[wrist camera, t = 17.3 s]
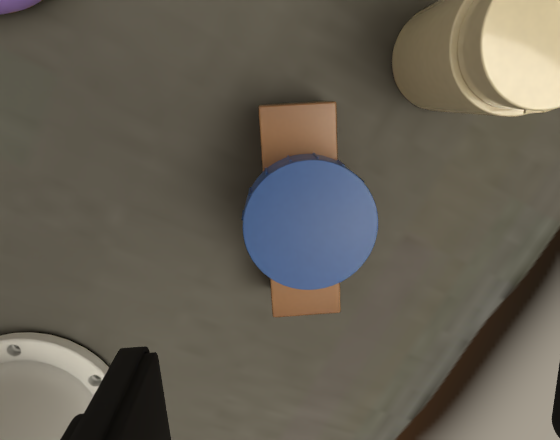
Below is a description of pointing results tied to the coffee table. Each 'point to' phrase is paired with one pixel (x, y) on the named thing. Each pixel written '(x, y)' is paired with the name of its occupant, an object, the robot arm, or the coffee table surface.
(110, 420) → the robot arm
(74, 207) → the coffee table surface
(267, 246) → the lid
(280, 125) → the block
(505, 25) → the jar
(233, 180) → the coffee table surface
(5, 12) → the donut
